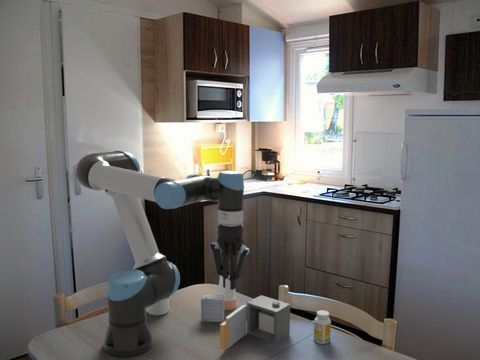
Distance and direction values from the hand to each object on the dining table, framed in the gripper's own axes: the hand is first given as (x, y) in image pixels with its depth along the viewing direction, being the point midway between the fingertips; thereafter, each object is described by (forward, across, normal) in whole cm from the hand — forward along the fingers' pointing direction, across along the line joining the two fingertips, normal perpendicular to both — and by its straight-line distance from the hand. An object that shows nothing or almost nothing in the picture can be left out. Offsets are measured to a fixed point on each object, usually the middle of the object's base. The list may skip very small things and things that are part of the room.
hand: (229, 298), depth 144 cm
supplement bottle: (+18, +23, +23) cm, 37 cm away
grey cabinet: (+18, +5, +18) cm, 26 cm away
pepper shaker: (+19, -18, +30) cm, 40 cm away
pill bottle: (+19, -38, +14) cm, 45 cm away
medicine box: (+19, -17, +18) cm, 31 cm away
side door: (+18, -2, +6) cm, 19 cm away
